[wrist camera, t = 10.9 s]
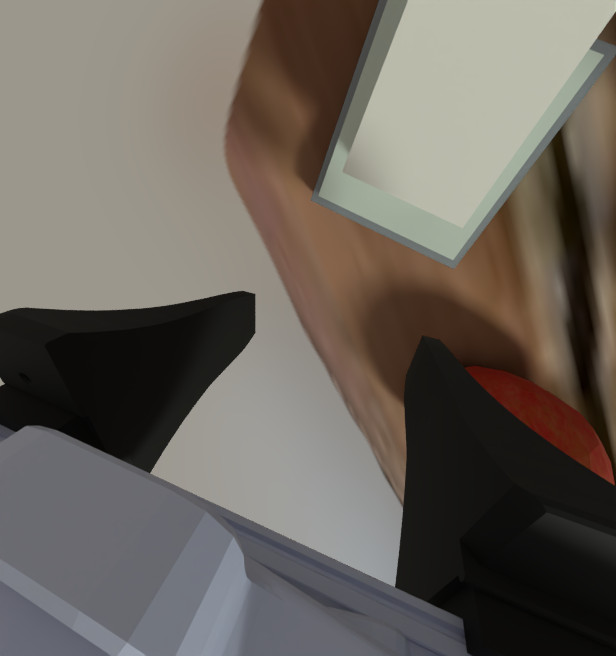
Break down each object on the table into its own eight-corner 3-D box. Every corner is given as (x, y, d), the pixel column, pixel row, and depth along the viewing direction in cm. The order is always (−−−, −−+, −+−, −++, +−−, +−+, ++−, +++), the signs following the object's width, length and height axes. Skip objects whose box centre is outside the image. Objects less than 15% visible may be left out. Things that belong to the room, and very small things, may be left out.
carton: (506, 92, 11) (646, -32, 5) (436, 206, 14) (462, 227, 8) (424, 57, 12) (448, -105, 5) (371, 176, 14) (342, 172, 8)
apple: (596, 373, 18) (781, 557, 9) (513, 461, 24) (578, 627, 15) (435, 332, 20) (458, 448, 11) (394, 422, 26) (389, 545, 17)
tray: (590, 66, 12) (629, 42, 10) (449, 261, 17) (455, 271, 15) (394, -12, 13) (392, -50, 11) (319, 198, 18) (308, 200, 16)
